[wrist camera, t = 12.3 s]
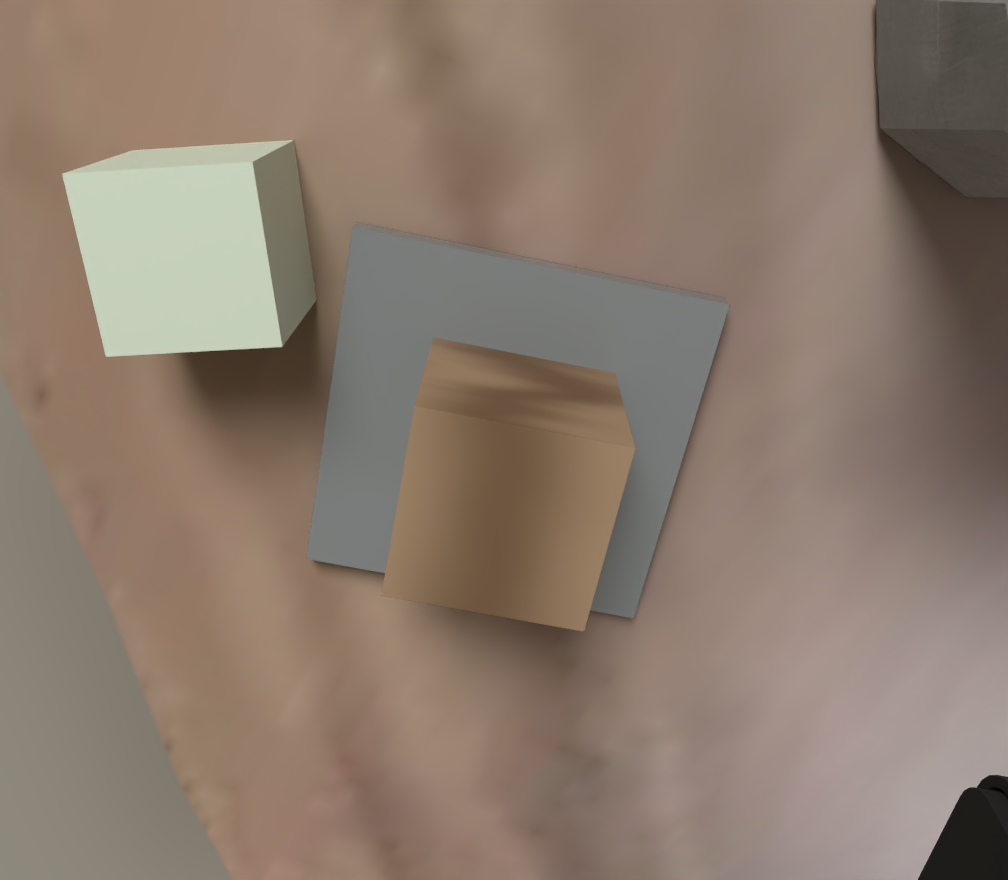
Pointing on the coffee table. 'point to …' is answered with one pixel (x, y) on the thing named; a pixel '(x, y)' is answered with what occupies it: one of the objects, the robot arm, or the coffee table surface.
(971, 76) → the coffeepot
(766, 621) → the coffee table surface
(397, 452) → the slate coaster
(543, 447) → the walnut cube
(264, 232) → the pale green block
